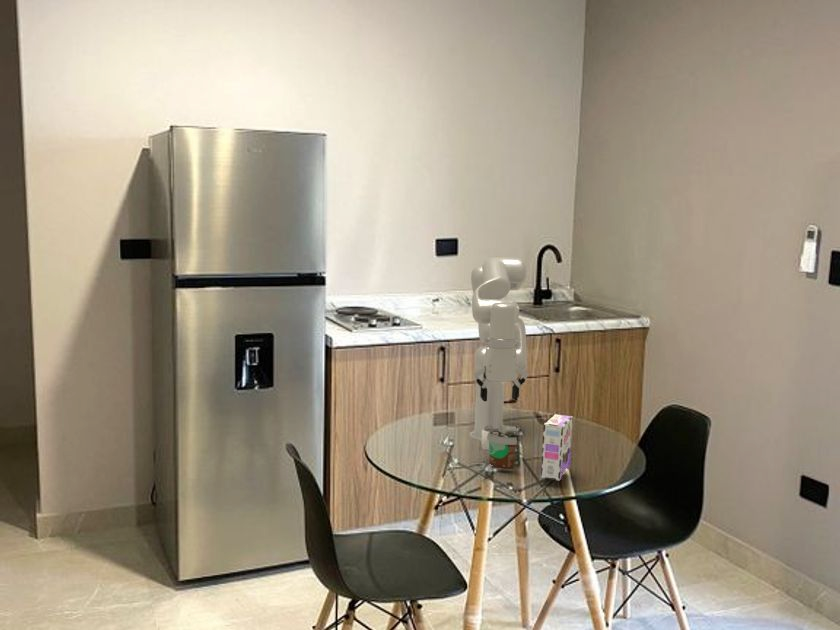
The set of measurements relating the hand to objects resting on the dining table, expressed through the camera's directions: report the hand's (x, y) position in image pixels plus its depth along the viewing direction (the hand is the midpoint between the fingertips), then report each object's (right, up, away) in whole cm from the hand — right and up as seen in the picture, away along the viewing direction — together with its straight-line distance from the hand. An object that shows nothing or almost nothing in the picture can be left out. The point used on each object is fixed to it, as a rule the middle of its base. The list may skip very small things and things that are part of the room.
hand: (499, 400), depth 257 cm
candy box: (+16, -22, -3) cm, 27 cm away
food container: (-1, -20, +3) cm, 21 cm away
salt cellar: (-2, -18, +21) cm, 27 cm away
